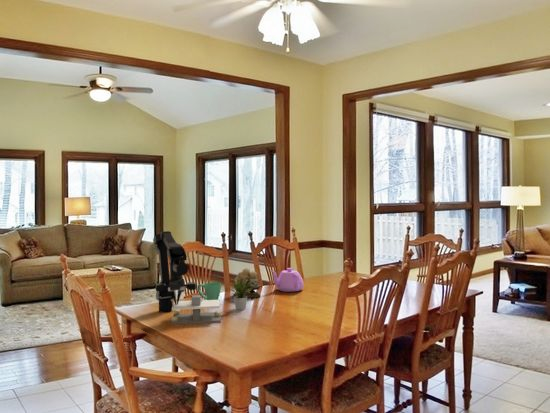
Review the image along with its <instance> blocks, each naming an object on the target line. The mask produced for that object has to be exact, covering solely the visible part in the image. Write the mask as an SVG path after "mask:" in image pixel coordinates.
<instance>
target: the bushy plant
mask: <svg viewBox="0 0 550 413" xmlns="http://www.w3.org/2000/svg"><path fill="white" fill-rule="evenodd" d="M257 273H258V272H256V271H250V268H248V267H245V268H244V269H242V271H239V272H238V274H237V275H236V276H235V278H234V280H235V279H236V280H237V282H238V283H239V280H240V283H241V284H242V282H243V281H244V279H245V281H246V280H248V281H247V282H246V285H247V284H248V283H249V285H252V286H249V285H248V286H249V287H246V289H247V290H249V289H250V288H252V289H250V290H251V291H249V292H250V293H249V292H246V293H245V295H244V296H247V300H252V299H253V300H254V299H258V298H259V297H261V294H260V293H259V292H257V290H260V288H261V287H262V284H259V282H260V281H259V279H258V274H257ZM245 281H244V282H245ZM253 281H254V282H253ZM250 282H251V283H252V284H250ZM234 284H235V285H236V282H235V281H234ZM246 285H245V286H246ZM244 290H245V289H244ZM244 290H243V291H244ZM247 290H245V291H247ZM245 291H244V292H245ZM235 294H236V293H235V292H234V293H233V298H234V297H235V296H237V294H236V295H235Z"/></svg>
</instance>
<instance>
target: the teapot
mask: <svg viewBox="0 0 550 413" xmlns="http://www.w3.org/2000/svg"><path fill="white" fill-rule="evenodd" d="M271 273H272V274H273V283H274V285H275V287H276V288H277V289H278V291H281V292H286V293H290V292H293V293H294V292H299V291H302V290H303V288H304V280H303V278H302V275H301V274H300V272H298V271H297V270H293V267H287V268H286V270H284V269H283V270H281V272H280V273H279V275H278V274H277V272H276V271H274V270H271Z"/></svg>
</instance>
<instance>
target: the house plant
mask: <svg viewBox="0 0 550 413" xmlns="http://www.w3.org/2000/svg"><path fill="white" fill-rule="evenodd" d="M244 281H245V279H244ZM244 281H243V282H242V284H241V283H240V280H239V283H238V282H237V280H236V279H235V278H234V283H233V282H231V285H232V286H233V288H234V289H229V291H232V292H234V293H236V294H237V296H235V297H234V296H233V301H234V306H235V307H234V308H235V310H236V311H244V310H246V307H247V302H248V301H247V300H248V299H247V296H244V295H245V293H246V292H249V291H251V290H250V289H252V288H250V289H249V290H247V289H246V287H249V286H252V285H249V283H248V284H247V285H246V282H247V281H248V280H246V281H245V282H244ZM235 282H236V285H235ZM253 282H254V281H253ZM250 284H252V283H251V282H250ZM245 285H246V286H245ZM248 285H249V286H248ZM244 289H245V290H247V291H245V290H244ZM243 290H244V291H245V292H244V291H243ZM249 293H250V292H249ZM236 294H235V295H236Z"/></svg>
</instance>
